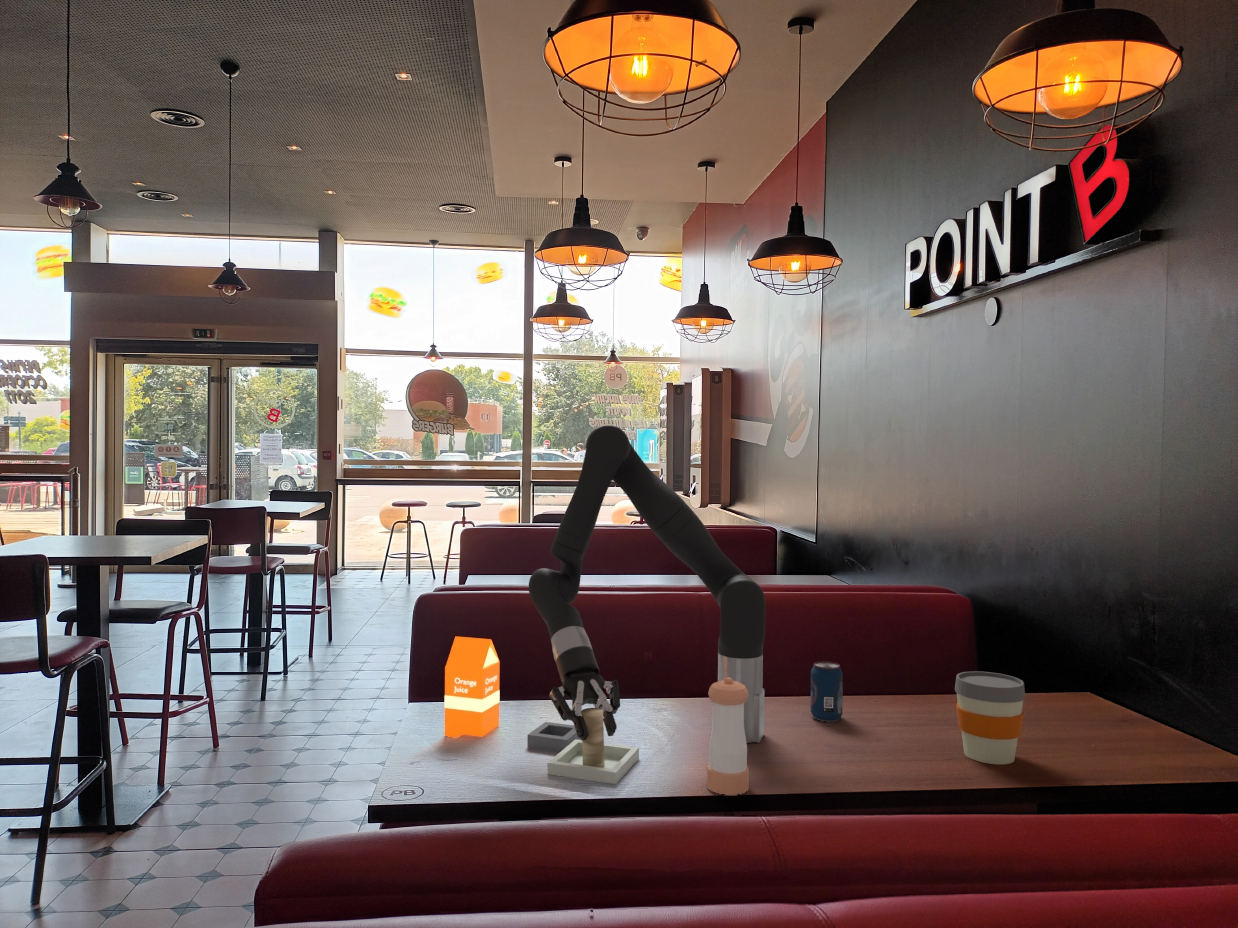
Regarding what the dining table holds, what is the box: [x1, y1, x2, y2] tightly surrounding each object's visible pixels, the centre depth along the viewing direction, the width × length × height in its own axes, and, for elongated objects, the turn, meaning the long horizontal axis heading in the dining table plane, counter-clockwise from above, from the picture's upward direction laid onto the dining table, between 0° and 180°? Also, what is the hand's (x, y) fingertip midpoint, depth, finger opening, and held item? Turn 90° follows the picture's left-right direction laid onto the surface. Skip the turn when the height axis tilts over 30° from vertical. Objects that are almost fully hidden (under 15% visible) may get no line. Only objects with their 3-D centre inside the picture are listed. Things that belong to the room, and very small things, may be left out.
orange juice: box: [444, 636, 501, 739], centre depth 166 cm, size 8×9×20 cm
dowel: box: [581, 707, 605, 768], centre depth 146 cm, size 4×4×10 cm
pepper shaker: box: [706, 677, 750, 796], centre depth 139 cm, size 7×7×19 cm
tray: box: [546, 739, 640, 785], centre depth 146 cm, size 13×13×3 cm
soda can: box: [810, 661, 844, 723], centre depth 178 cm, size 7×7×12 cm
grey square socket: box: [526, 721, 581, 753], centre depth 158 cm, size 8×8×4 cm
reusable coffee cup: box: [954, 670, 1026, 765], centre depth 156 cm, size 13×13×15 cm
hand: (598, 735), depth 144 cm, fingers open, 4 cm apart
